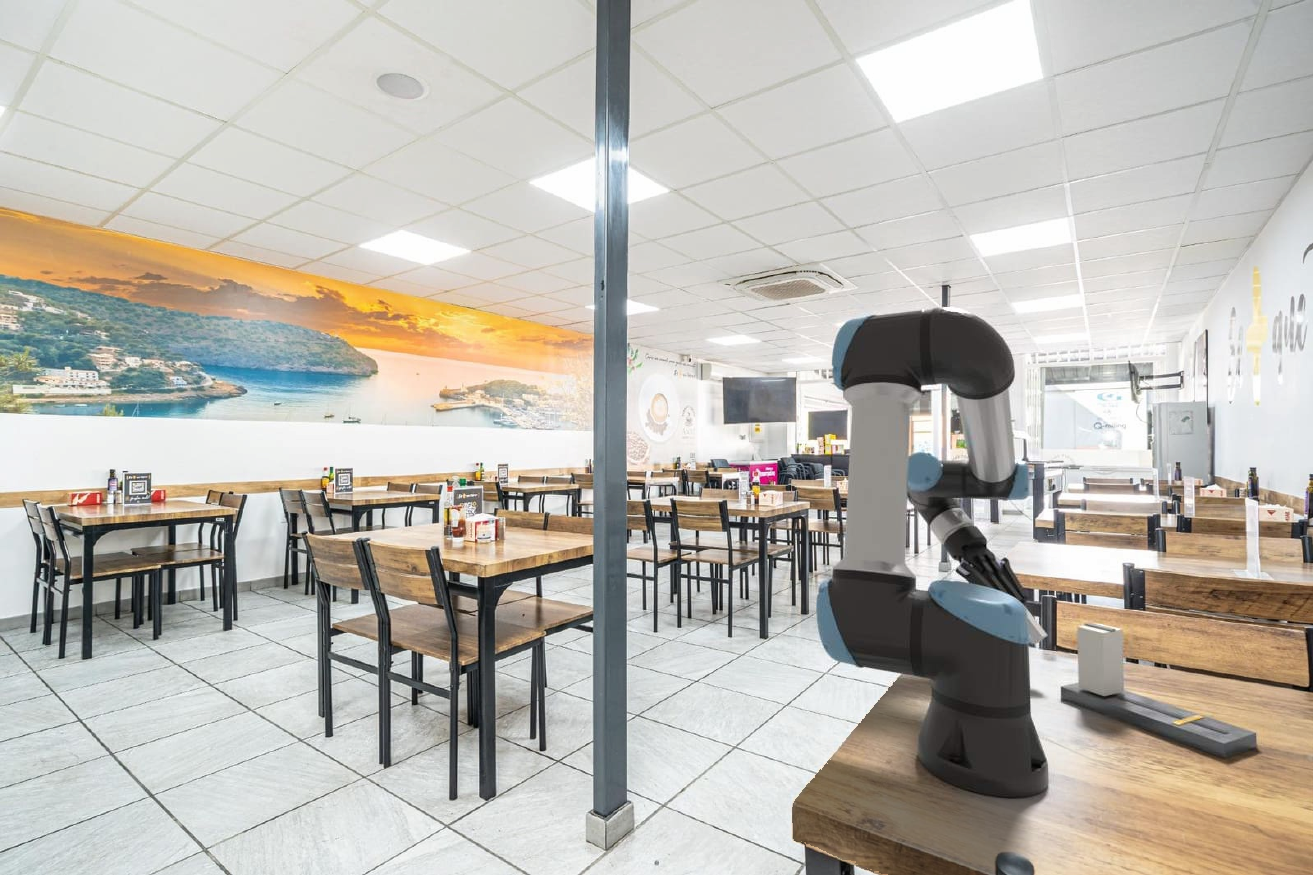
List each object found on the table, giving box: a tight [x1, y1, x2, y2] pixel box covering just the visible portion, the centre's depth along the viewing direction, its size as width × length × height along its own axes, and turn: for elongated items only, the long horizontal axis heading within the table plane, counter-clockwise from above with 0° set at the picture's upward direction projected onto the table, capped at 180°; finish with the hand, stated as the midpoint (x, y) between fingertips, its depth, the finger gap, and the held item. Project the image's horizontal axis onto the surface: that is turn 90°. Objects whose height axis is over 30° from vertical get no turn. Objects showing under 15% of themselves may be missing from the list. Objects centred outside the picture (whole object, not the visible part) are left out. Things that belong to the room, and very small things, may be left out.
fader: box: [1076, 622, 1125, 696], centre depth 101 cm, size 4×5×10 cm
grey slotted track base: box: [1060, 681, 1258, 759], centre depth 94 cm, size 22×8×2 cm, turn 23°
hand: (1039, 639), depth 110 cm, fingers closed
